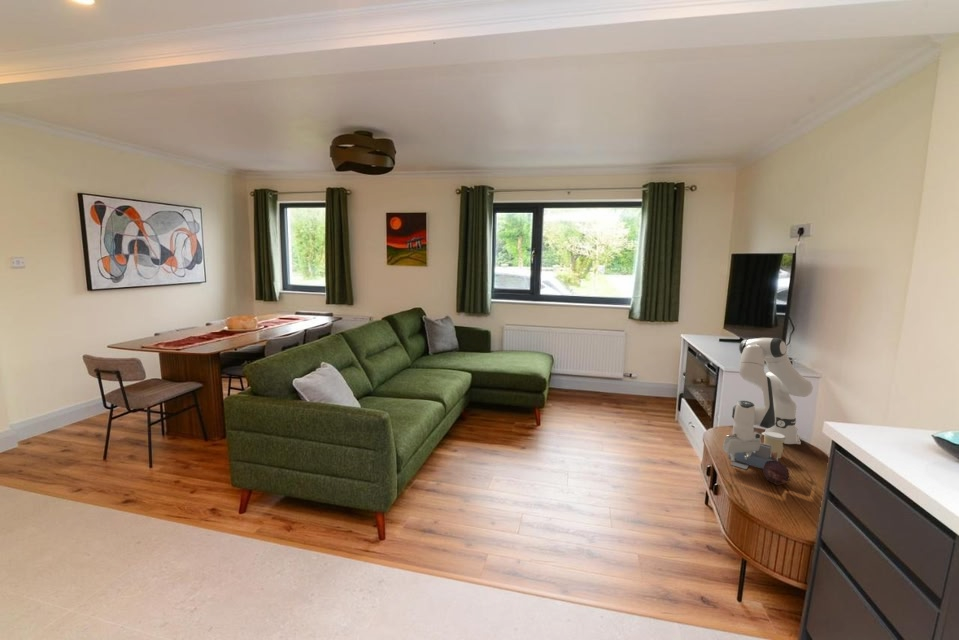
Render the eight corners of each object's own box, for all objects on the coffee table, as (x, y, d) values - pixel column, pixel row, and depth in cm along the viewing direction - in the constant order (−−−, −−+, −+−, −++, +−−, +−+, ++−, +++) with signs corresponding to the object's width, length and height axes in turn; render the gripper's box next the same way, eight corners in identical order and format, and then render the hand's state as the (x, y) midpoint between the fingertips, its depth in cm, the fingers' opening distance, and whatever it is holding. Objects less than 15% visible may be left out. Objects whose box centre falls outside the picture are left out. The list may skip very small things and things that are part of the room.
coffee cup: (786, 460, 220) (789, 438, 218) (766, 458, 222) (769, 437, 220) (777, 453, 229) (780, 432, 228) (758, 451, 231) (761, 430, 229)
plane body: (732, 454, 226) (734, 435, 225) (777, 466, 212) (779, 446, 211) (728, 459, 220) (730, 439, 219) (774, 472, 207) (776, 451, 205)
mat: (733, 461, 217) (733, 460, 217) (749, 466, 213) (749, 465, 213) (730, 465, 213) (730, 464, 213) (746, 469, 208) (746, 469, 208)
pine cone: (757, 471, 207) (759, 452, 206) (781, 475, 203) (783, 455, 202) (767, 488, 190) (769, 467, 189) (793, 493, 187) (796, 471, 186)
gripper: (731, 437, 205) (728, 464, 207) (764, 434, 210) (761, 461, 212) (720, 432, 211) (718, 458, 213) (753, 430, 216) (750, 455, 218)
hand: (739, 459), depth 212 cm, fingers open, 7 cm apart
